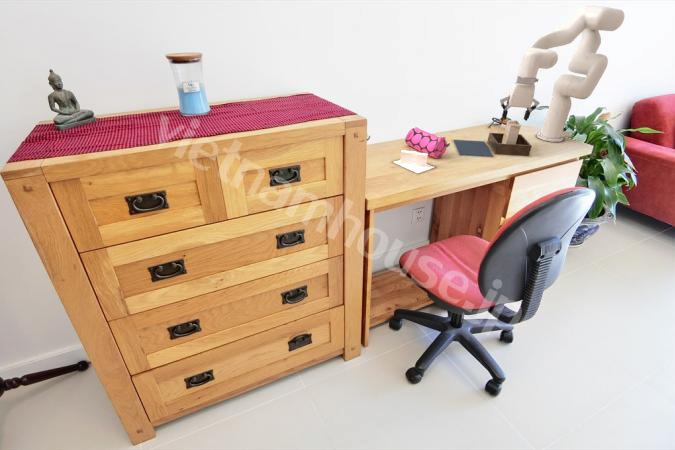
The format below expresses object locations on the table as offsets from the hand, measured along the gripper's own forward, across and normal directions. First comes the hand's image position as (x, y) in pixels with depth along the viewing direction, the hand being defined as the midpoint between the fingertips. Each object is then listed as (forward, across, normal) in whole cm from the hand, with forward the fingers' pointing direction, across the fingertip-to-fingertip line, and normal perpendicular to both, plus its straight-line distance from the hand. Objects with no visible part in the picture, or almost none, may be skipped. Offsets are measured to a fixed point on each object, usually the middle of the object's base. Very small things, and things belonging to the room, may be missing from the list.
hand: (514, 119), depth 174 cm
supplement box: (+15, 0, 0) cm, 15 cm away
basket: (+15, 0, 0) cm, 15 cm away
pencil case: (+16, +40, +10) cm, 44 cm away
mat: (+15, +16, +2) cm, 22 cm away
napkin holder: (+16, +46, +27) cm, 56 cm away
